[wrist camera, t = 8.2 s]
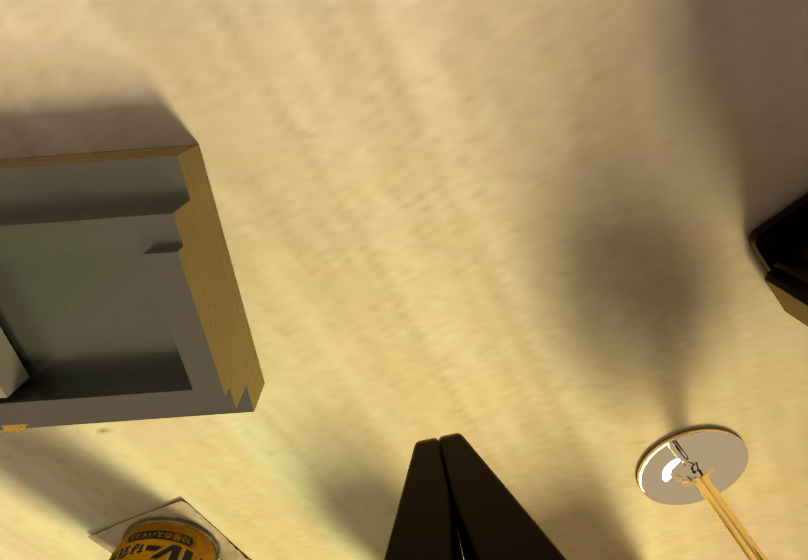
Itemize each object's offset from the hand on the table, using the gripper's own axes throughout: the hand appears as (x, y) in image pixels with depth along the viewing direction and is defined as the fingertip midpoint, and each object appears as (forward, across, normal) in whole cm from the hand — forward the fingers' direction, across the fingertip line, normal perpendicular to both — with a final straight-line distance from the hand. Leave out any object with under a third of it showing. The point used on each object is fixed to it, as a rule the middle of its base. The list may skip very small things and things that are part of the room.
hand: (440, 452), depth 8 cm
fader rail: (+14, +16, 0) cm, 21 cm away
